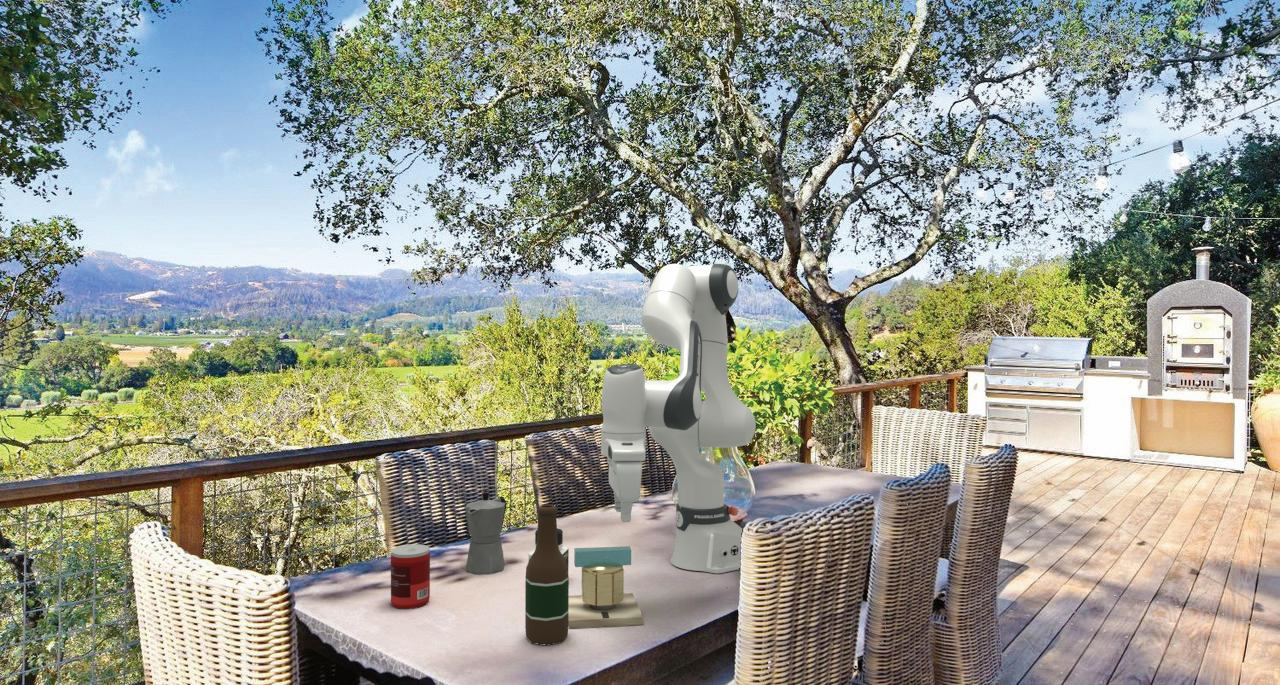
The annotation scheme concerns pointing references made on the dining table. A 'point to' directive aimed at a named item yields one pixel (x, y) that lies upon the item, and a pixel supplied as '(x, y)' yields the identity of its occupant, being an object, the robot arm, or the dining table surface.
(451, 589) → the dining table surface
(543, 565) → the beer bottle
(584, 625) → the square recessed plate
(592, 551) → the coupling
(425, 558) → the canned food
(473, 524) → the coffeepot
